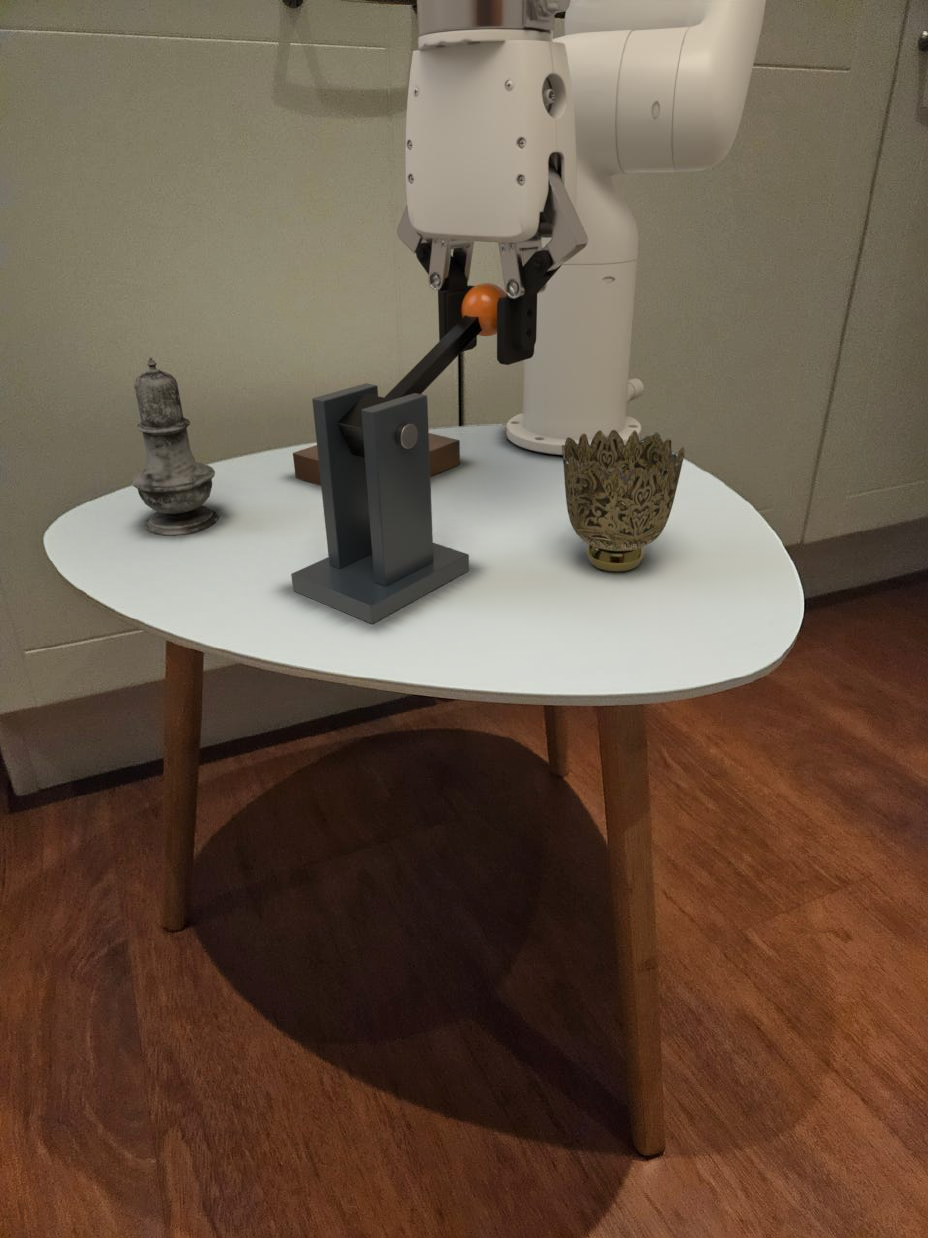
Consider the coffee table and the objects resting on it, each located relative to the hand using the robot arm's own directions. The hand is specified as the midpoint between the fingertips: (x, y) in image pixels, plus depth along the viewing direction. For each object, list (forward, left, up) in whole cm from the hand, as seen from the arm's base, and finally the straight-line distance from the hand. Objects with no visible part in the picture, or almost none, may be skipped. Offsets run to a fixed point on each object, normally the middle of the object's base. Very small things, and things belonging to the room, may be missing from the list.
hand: (486, 352), depth 56 cm
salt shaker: (+13, -19, -13) cm, 26 cm away
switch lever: (+5, 0, -1) cm, 5 cm away
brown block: (-4, -15, -12) cm, 20 cm away
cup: (0, +10, -13) cm, 16 cm away
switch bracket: (+11, 0, -12) cm, 17 cm away
